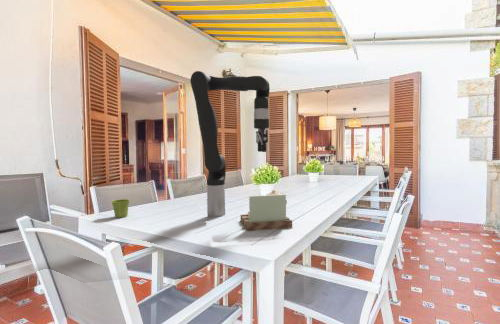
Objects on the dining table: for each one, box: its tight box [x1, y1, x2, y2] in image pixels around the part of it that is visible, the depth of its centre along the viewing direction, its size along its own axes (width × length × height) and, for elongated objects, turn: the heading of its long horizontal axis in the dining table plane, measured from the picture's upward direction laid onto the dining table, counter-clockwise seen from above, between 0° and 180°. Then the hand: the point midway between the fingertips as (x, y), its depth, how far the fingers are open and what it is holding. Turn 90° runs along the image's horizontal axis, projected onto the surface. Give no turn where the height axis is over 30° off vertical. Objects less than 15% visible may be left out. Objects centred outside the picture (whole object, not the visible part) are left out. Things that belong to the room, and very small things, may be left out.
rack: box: [240, 213, 293, 232], centre depth 136 cm, size 20×18×4 cm
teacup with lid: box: [266, 189, 288, 205], centre depth 171 cm, size 12×9×12 cm
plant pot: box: [110, 198, 131, 219], centre depth 161 cm, size 9×9×9 cm
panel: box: [248, 194, 287, 223], centre depth 130 cm, size 16×1×14 cm, turn 101°
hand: (261, 151), depth 147 cm, fingers open, 8 cm apart
